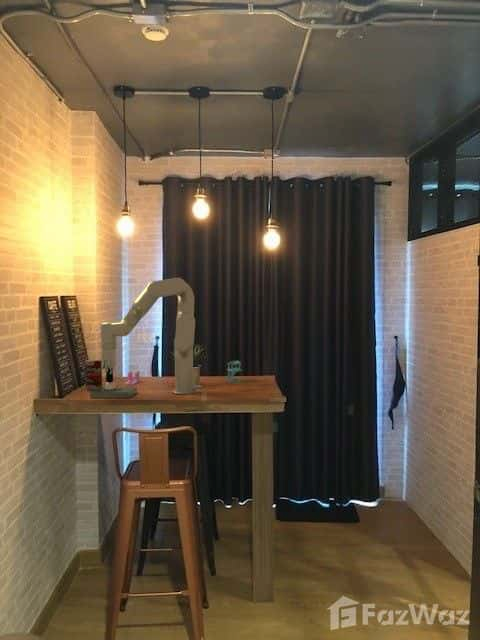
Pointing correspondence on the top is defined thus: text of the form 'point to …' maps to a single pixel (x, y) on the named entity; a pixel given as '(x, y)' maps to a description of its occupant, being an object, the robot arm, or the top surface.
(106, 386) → the bushing
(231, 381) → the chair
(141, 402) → the top surface
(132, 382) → the pink notched block
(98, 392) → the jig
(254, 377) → the top surface
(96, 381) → the supplement box
